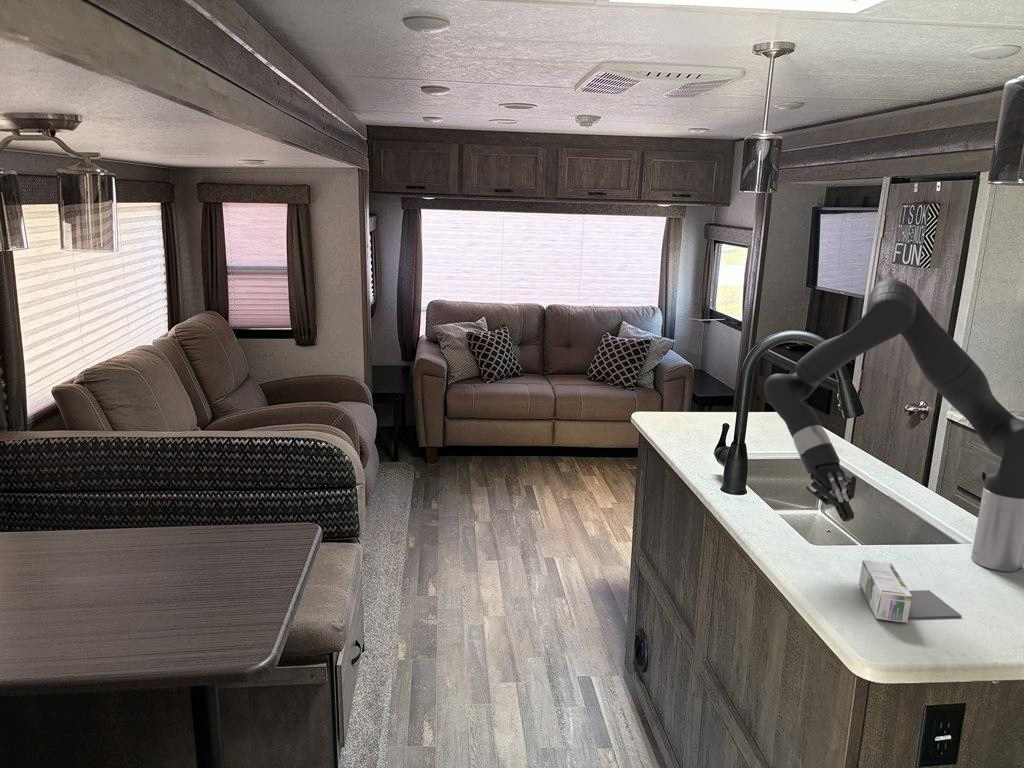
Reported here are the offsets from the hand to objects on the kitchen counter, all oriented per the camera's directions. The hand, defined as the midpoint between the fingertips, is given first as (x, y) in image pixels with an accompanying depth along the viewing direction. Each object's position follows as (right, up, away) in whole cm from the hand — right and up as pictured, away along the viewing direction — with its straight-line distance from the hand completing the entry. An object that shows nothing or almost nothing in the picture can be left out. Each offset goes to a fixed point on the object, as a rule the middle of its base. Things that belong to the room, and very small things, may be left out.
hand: (849, 520), depth 165 cm
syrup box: (+2, -10, -7) cm, 12 cm away
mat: (+7, -15, -14) cm, 21 cm away
